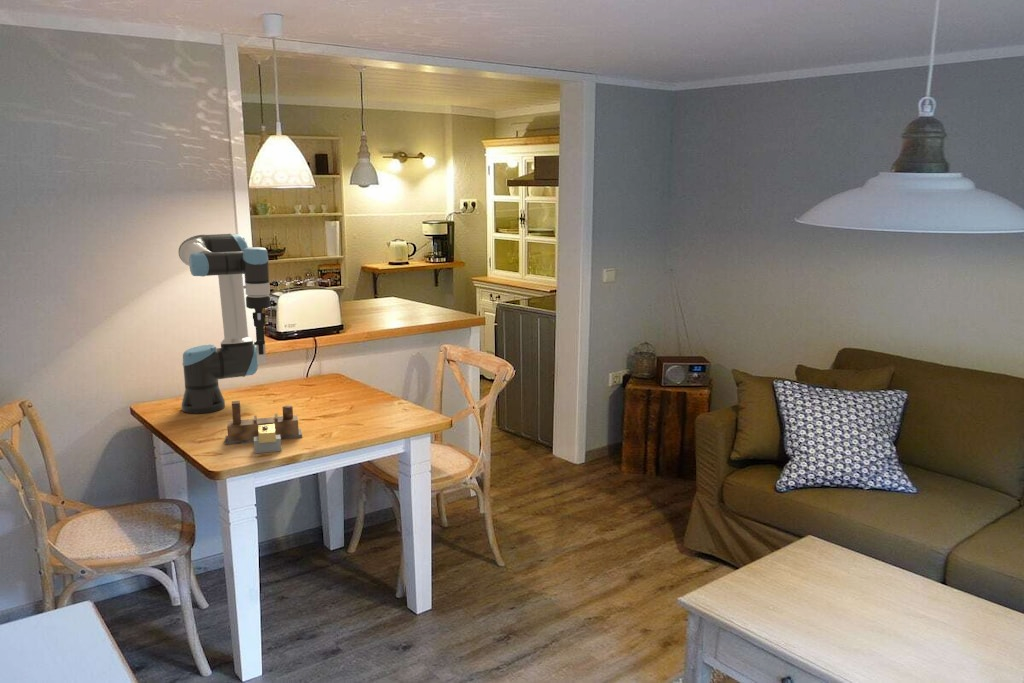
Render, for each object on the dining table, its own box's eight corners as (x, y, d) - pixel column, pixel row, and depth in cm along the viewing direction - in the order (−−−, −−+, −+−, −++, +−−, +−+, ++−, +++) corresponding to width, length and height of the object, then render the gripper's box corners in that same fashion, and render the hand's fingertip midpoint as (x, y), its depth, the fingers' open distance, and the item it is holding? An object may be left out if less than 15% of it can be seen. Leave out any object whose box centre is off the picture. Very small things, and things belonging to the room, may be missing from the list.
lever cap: (259, 443, 235) (258, 432, 235) (258, 434, 244) (258, 423, 243) (275, 441, 237) (275, 430, 236) (275, 432, 245) (274, 422, 245)
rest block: (254, 449, 242) (253, 437, 241) (280, 446, 244) (280, 434, 244) (254, 453, 238) (253, 441, 237) (281, 450, 240) (280, 438, 240)
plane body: (225, 444, 246) (222, 406, 243) (225, 438, 252) (222, 400, 249) (302, 437, 253) (300, 399, 251) (300, 431, 259) (298, 394, 256)
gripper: (246, 289, 258) (249, 350, 263) (245, 302, 235) (249, 368, 240) (269, 289, 260) (272, 349, 265) (270, 301, 237) (274, 367, 242)
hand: (261, 358), depth 252 cm, fingers open, 13 cm apart
